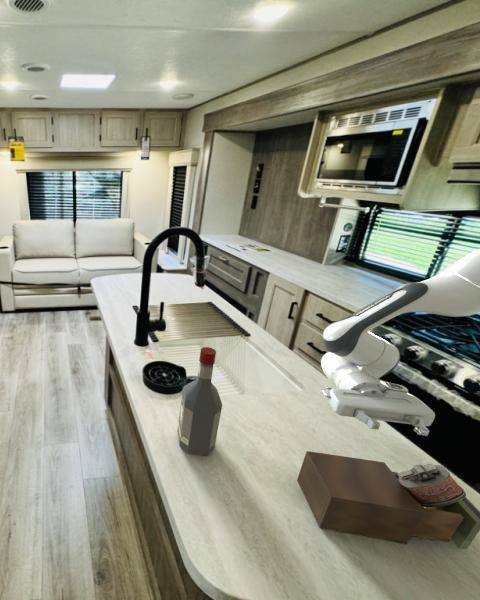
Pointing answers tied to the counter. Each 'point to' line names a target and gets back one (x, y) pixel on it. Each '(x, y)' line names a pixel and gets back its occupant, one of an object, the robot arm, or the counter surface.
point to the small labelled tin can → (431, 485)
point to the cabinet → (358, 497)
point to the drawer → (449, 522)
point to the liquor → (200, 409)
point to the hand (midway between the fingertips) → (399, 430)
